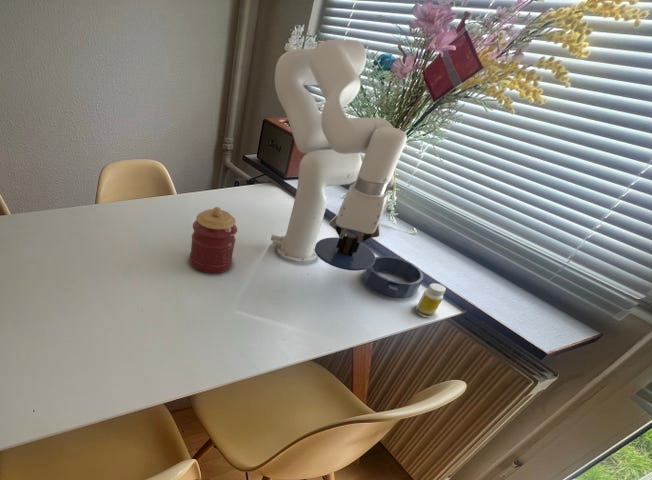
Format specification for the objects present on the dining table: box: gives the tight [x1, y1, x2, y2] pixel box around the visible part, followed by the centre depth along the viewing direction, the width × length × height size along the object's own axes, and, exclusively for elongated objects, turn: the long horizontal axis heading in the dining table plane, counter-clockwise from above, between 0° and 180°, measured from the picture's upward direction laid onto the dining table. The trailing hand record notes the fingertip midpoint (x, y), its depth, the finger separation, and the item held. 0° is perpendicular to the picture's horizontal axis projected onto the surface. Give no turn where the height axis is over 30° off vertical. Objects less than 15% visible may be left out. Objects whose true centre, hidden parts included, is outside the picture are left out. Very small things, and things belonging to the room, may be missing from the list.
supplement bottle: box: [415, 282, 447, 318], centre depth 116 cm, size 5×5×8 cm
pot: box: [362, 254, 424, 300], centre depth 127 cm, size 15×21×5 cm
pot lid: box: [314, 232, 376, 272], centre depth 116 cm, size 16×16×6 cm
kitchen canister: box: [189, 206, 238, 274], centre depth 126 cm, size 13×13×18 cm
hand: (345, 251), depth 117 cm, fingers closed on pot lid, 2 cm apart
